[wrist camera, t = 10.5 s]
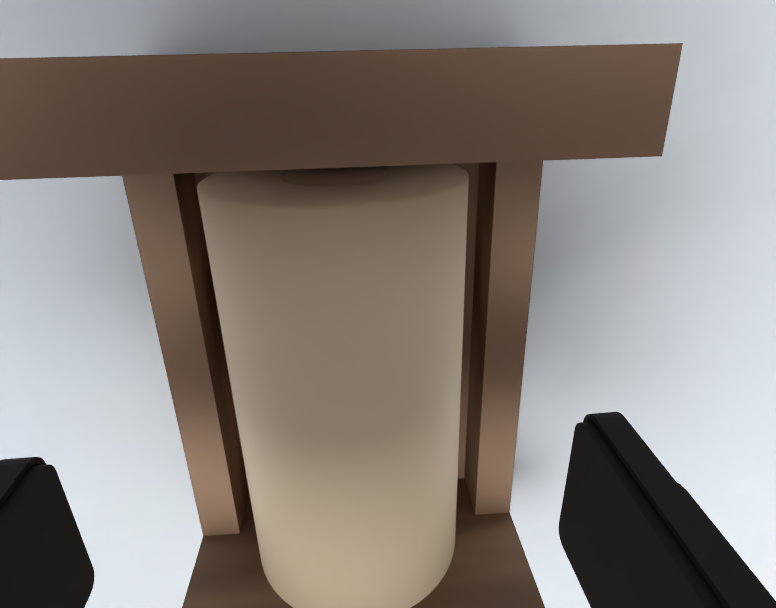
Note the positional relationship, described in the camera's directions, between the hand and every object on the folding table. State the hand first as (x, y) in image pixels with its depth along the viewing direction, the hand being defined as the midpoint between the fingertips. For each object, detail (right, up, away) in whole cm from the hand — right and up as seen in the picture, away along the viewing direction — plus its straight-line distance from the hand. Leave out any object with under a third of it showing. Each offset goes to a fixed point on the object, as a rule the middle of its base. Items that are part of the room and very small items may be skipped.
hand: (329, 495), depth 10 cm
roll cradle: (0, +3, +8) cm, 9 cm away
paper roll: (0, +3, +7) cm, 8 cm away
